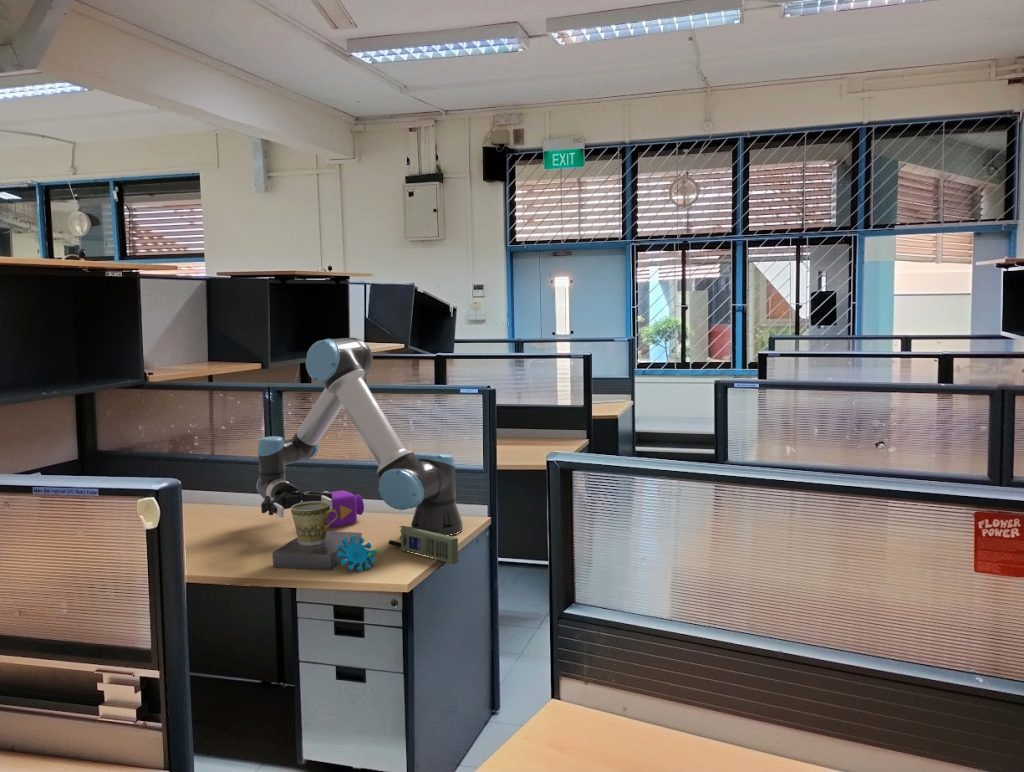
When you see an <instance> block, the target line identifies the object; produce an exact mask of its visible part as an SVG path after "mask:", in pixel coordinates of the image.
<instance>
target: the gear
mask: <svg viewBox="0 0 1024 772" xmlns="http://www.w3.org/2000/svg"><path fill="white" fill-rule="evenodd" d="M355 539H356V537H354V536H351V538H350V541H351V544H350V545H349V544H347V542H348V539H347V538H345V539H343V540H342V543H343V544H344V545H345V547H346V549H344V548H343V545H342V544H339V545H338V547H337V549H338V550H341V551H343V552H344V553H345V554H342V552H340V551H339V552H338V553H337V557H338V558H340V557H343V558H346V560H344V559H342V560H341V563H340V564H341V566H345V565H346V564H348V566H347V570H348V571H350V572H351V571H353V569H354V567H355V566H356V565H358V566H357V568H356V572H358V571H361V572H362V571H363V569H364V570H369V569H370V568H371V565H372V564H374V562H375V561H376V558H375V556H376V555H377V554H378V553H379V548H375V549H371V548H372V544H371V542H367V543H365V544H363V543H364V542H365V538H363V536H362V537H361V538H360V539H359V542H357V543H354V541H355ZM360 543H362V545H360ZM369 549H371V550H369ZM362 564H364V568H363V566H362Z"/></svg>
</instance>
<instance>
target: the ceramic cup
mask: <svg viewBox="0 0 1024 772" xmlns="http://www.w3.org/2000/svg"><path fill="white" fill-rule="evenodd" d="M301 502H302V501H301ZM329 508H330V504H329V503H327V502H322V501H310V502H302V503H298V504H295V505H293V506H291V508H290V511H291V516H292V519H293V523H294V527H295V531H296V536H297V537H298V541H299V543H300V544H301V545H302V546H314V545H320V544H322V543H324V542H325V539H326V531H328V530H327V529H328V528H329V527H328V526H330V524H331V523H332V522H334V521H335V520H336V519H337V518H338V512H337V510H335V509H330V510H329ZM331 511H334V512H335V513H336V518H335V519H334V520H332V521H331V522H330V523H329V525H327V522H328V516H329V513H330V512H331ZM297 537H296V538H297Z"/></svg>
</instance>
